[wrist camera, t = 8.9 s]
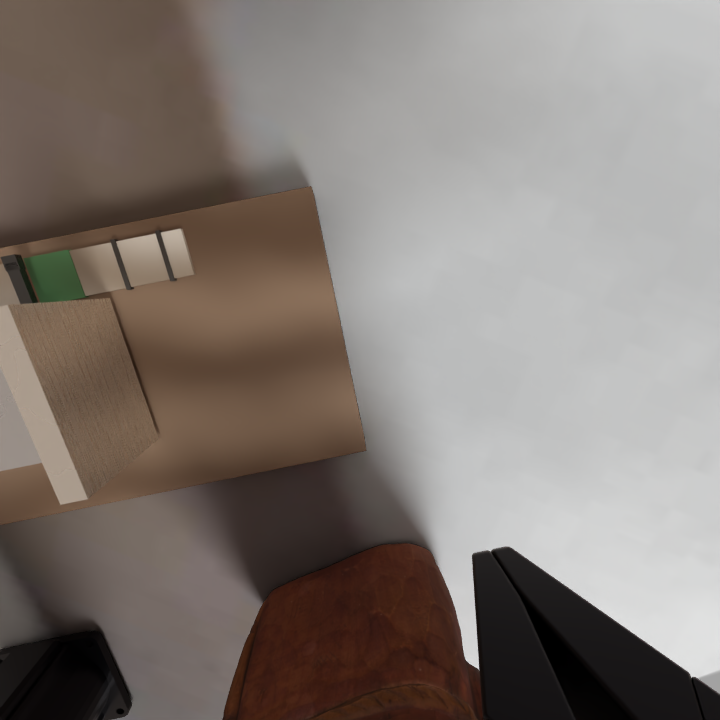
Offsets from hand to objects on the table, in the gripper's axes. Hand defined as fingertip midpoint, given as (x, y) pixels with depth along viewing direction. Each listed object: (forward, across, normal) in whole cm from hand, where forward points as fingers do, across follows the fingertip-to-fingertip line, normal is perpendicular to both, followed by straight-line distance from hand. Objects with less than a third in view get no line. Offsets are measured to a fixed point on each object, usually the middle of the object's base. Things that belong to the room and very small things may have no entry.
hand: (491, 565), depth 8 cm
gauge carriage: (+10, +17, -6) cm, 21 cm away
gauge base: (+12, +14, -4) cm, 19 cm away
